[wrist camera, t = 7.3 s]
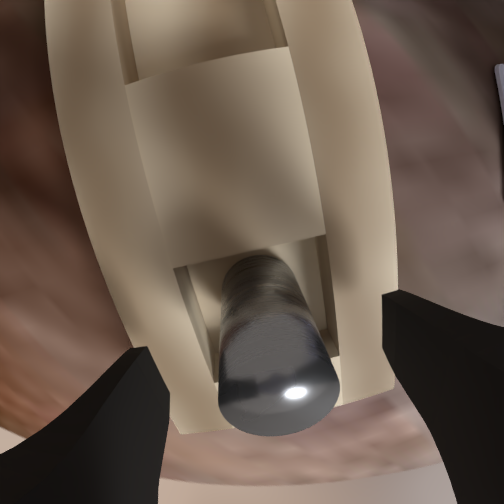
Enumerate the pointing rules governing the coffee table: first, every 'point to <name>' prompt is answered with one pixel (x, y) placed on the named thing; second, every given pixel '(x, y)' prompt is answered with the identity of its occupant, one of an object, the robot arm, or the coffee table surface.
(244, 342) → the grey cylinder
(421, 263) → the coffee table surface
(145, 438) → the robot arm
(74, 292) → the coffee table surface
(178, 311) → the tool board
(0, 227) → the coffee table surface
